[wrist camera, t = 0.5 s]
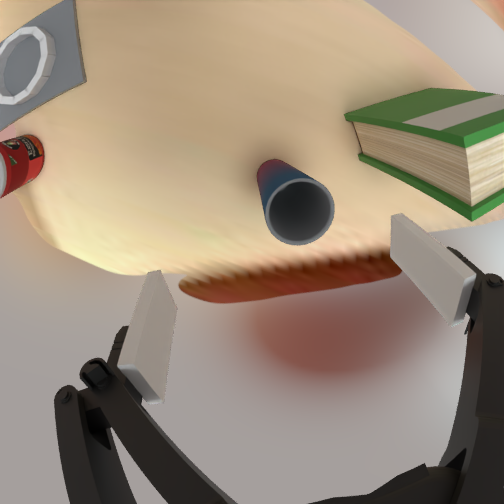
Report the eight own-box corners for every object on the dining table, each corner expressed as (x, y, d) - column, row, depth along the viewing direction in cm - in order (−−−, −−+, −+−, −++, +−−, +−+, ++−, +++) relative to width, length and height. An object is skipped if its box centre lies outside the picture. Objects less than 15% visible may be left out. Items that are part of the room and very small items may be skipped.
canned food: (52, 146, 34) (10, 161, 24) (35, 189, 37) (-4, 214, 27) (21, 126, 31) (-22, 137, 22) (7, 168, 34) (-34, 188, 24)
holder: (-14, 57, 23) (-26, 57, 20) (75, -3, 23) (65, -9, 20) (-4, 134, 31) (-16, 137, 27) (86, 81, 30) (75, 80, 27)
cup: (246, 195, 41) (259, 241, 28) (254, 149, 38) (272, 172, 25) (292, 202, 42) (324, 248, 29) (302, 157, 39) (342, 185, 26)
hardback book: (359, 160, 40) (471, 221, 19) (344, 114, 37) (463, 136, 16) (441, 129, 38) (554, 167, 17) (431, 88, 35) (550, 105, 14)
